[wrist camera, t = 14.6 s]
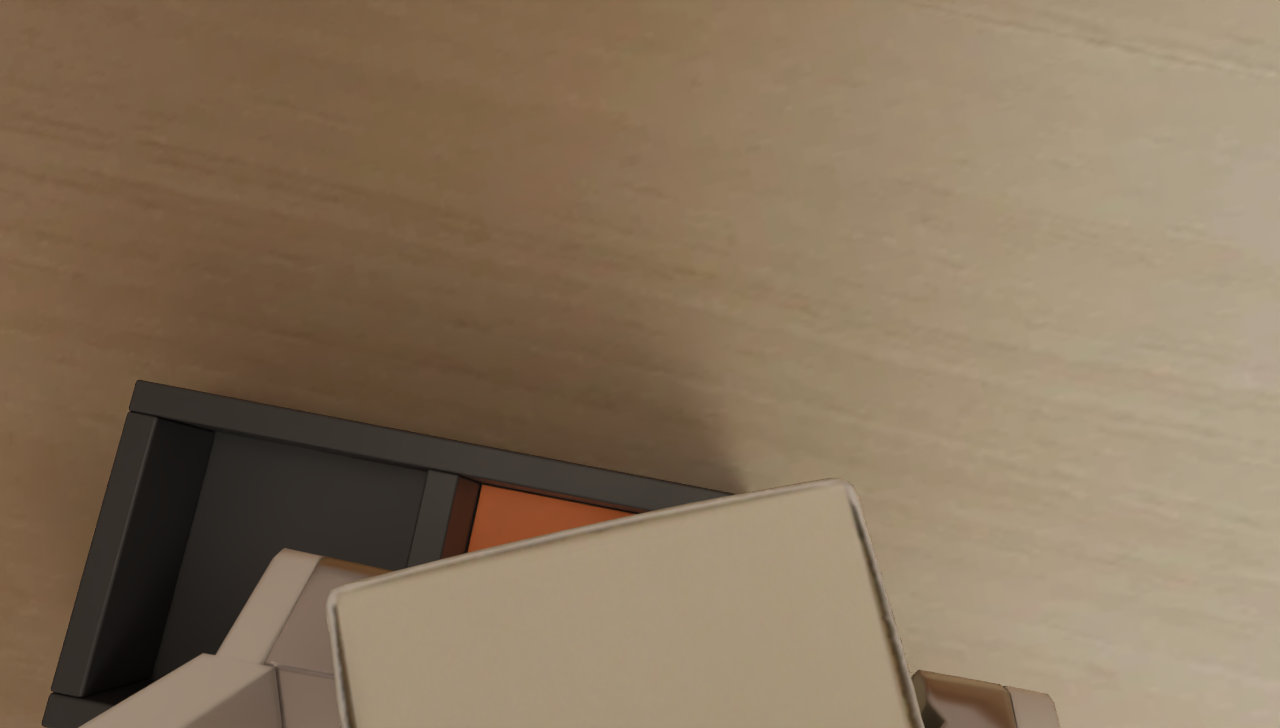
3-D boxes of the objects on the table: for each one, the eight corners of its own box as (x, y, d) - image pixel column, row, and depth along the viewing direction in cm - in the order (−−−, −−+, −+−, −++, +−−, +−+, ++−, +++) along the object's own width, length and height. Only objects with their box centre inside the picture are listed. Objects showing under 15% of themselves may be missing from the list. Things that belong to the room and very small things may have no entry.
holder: (701, 816, 27) (711, 864, 23) (126, 699, 28) (38, 726, 24) (754, 506, 29) (772, 500, 25) (205, 401, 29) (135, 378, 25)
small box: (762, 496, 17) (869, 456, 9) (826, 765, 16) (1000, 974, 8) (461, 562, 17) (304, 579, 9) (511, 837, 16) (390, 1118, 8)
